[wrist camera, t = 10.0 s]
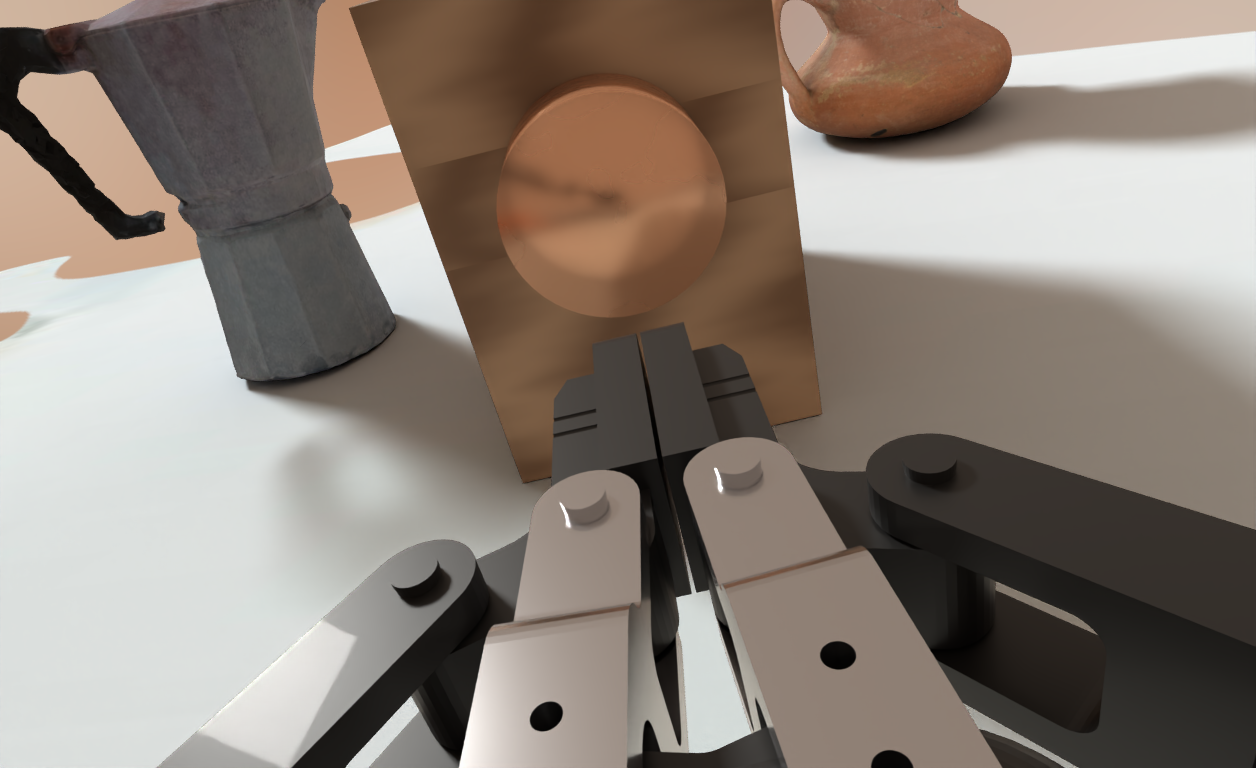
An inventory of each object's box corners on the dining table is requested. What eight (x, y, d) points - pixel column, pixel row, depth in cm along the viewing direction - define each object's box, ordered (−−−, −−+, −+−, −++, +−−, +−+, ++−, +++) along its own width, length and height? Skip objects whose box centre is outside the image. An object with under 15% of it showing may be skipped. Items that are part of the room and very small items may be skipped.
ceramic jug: (946, 76, 64) (936, -129, 57) (1079, 99, 51) (1087, -161, 44) (737, 144, 62) (700, -59, 55) (821, 185, 49) (788, -72, 42)
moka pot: (474, 301, 45) (330, -103, 35) (212, 448, 37) (-72, -27, 27) (390, 279, 52) (249, -67, 42) (151, 401, 43) (-96, 4, 33)
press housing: (522, 482, 29) (348, 8, 21) (535, 289, 44) (437, -24, 37) (821, 414, 28) (759, -100, 20) (727, 243, 44) (671, -85, 36)
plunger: (533, 339, 22) (464, 125, 19) (544, 155, 41) (509, 31, 38) (742, 288, 22) (705, 64, 19) (658, 127, 41) (632, 0, 38)
